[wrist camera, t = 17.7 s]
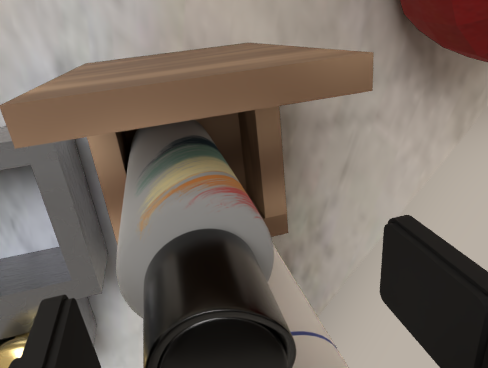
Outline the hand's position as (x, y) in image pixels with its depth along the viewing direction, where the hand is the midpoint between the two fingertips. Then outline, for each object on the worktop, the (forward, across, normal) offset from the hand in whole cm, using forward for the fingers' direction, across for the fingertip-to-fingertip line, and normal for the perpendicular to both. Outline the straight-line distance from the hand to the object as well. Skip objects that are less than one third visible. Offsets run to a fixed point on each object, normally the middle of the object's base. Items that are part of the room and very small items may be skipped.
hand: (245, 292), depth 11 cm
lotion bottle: (+18, +1, +1) cm, 18 cm away
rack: (+18, 0, +1) cm, 18 cm away
